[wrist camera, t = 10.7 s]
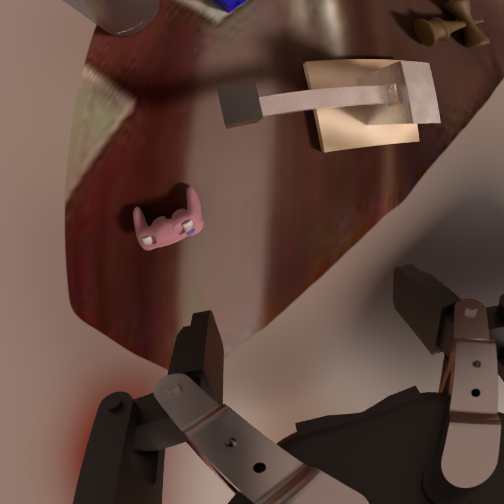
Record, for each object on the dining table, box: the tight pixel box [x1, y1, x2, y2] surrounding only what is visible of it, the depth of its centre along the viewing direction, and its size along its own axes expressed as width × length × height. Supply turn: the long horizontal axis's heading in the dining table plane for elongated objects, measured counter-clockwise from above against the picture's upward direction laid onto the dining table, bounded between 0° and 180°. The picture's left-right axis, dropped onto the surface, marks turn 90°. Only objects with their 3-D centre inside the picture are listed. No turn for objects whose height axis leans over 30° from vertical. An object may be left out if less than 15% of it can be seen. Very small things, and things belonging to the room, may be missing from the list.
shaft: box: [217, 82, 391, 129], centre depth 24 cm, size 3×18×8 cm, turn 102°
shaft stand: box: [303, 59, 441, 152], centre depth 30 cm, size 13×16×14 cm
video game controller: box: [133, 186, 204, 250], centre depth 38 cm, size 10×5×7 cm, turn 108°
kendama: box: [413, 0, 490, 48], centre depth 28 cm, size 6×10×20 cm
